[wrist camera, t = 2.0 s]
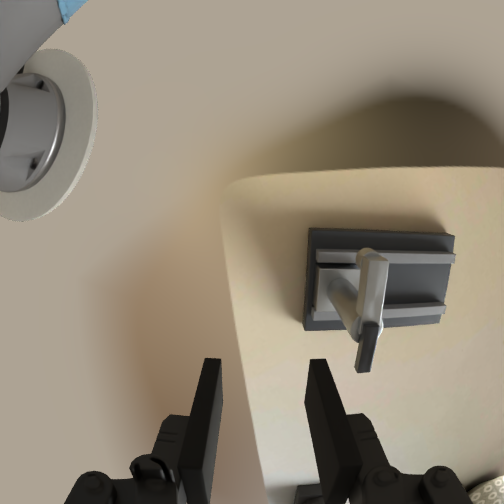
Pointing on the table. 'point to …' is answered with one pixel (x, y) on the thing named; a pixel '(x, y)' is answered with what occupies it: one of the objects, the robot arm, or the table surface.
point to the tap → (355, 299)
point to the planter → (488, 492)
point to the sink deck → (399, 273)
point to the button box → (309, 494)
